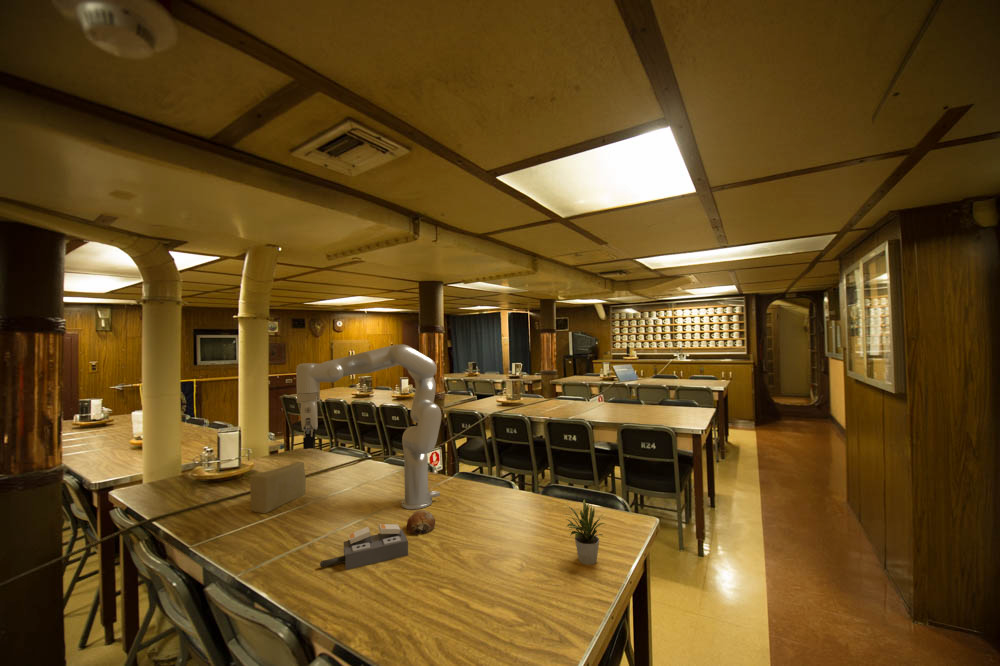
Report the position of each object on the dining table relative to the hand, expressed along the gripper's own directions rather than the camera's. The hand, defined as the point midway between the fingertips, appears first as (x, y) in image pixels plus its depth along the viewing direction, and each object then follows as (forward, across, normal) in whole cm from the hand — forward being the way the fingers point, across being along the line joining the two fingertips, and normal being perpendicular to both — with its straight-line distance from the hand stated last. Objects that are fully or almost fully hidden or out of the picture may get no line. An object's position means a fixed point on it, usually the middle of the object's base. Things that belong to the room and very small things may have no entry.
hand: (309, 445), depth 143 cm
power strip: (+30, -28, -16) cm, 44 cm away
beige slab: (+31, +36, +12) cm, 49 cm away
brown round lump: (+31, -16, -36) cm, 50 cm away
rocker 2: (+24, -26, -24) cm, 43 cm away
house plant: (+31, -57, -76) cm, 100 cm away
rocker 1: (+24, -26, -15) cm, 39 cm away
